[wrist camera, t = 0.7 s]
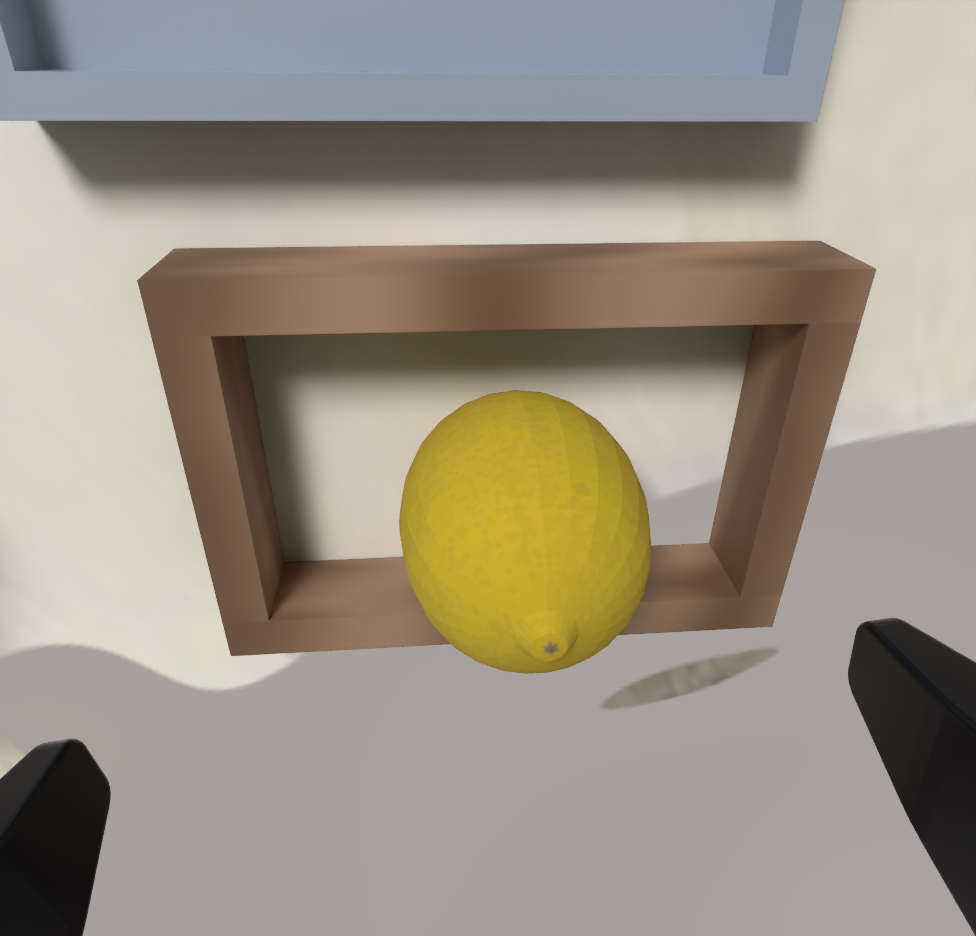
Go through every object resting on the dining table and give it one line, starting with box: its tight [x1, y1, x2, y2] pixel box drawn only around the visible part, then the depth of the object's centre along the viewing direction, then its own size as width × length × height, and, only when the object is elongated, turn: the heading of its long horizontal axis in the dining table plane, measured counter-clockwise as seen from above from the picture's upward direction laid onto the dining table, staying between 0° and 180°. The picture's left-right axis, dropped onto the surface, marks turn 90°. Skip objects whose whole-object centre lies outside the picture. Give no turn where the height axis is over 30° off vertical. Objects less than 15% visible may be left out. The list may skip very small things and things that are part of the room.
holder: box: [137, 241, 876, 656], centre depth 18 cm, size 15×10×2 cm
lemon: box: [399, 390, 651, 673], centre depth 16 cm, size 6×6×8 cm
